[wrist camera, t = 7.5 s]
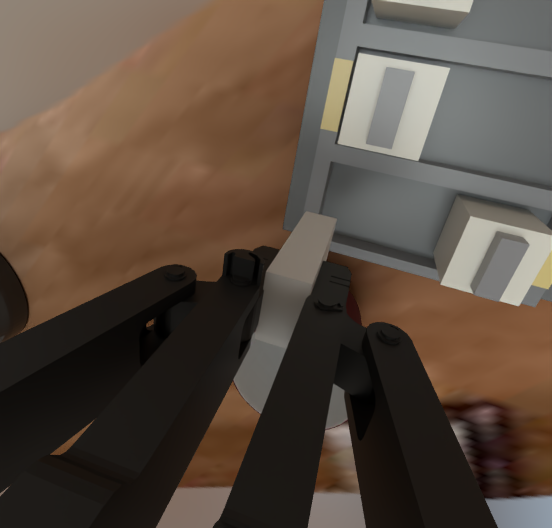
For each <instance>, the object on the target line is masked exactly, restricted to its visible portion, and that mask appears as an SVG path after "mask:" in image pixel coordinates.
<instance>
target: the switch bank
mask: <svg viewBox="0 0 552 528" xmlns="http://www.w3.org/2000/svg"><path fill="white" fill-rule="evenodd" d="M359 53H362V54H368V55H374V56H380V57H387V58H393V59H399V60H405V61H411V62H417V63H423V64H429V65H435V66H441V67H447V68H450V70H449V73H448V76H447V79H446V82H445V85H444V88H443V91H442V94H441V97H440V99H439V102H438V105H437V108H436V111H435V114H434V117H433V120H432V123H431V126H430V129H429V131H428V134H427V137H426V140H425V143H424V146H423V149H422V152H421V155H420V158H419V161H415V160H411V159H406V158H401V157H397V156H392V155H387V154H383V153H378V152H373V151H369V150H364V149H360V148H355V147H350V146H346V145H341V144H338V140H339V135H340V131H341V127H342V122H343V118H344V114H345V109H346V105H347V101H348V97H349V92H350V88H351V84H352V79H353V75H354V71H355V67H356V62H357V58H358V54H359ZM457 194H460V195H464V196H469V197H473V198H477V199H482V200H486V201H491V202H495V203H499V204H504V205H508V206H513V207H517V208H521V209H526V210H529V211H530V212H532V213H533V214H534V215H535V216H536V217H537V218H538V219H539V220H540V221H542V222H543V223H544V224H545V225H546V226H547V227H548V228H549V229H551V230H552V0H473V3H472V6H471V9H470V12H469V13H468V14H467V16H466V17H465V18H464V19H463V20H462V21H461V22H460V23H459V24H458V26H457V27H456V28H455V29H449V28H442V27H435V26H428V25H421V24H414V23H407V22H400V21H393V20H386V19H380V18H376V15H375V11H374V7H373V4H372V0H324V4H323V10H322V15H321V21H320V26H319V32H318V37H317V43H316V48H315V54H314V59H313V65H312V70H311V76H310V81H309V87H308V92H307V98H306V103H305V109H304V114H303V120H302V125H301V130H300V136H299V141H298V147H297V152H296V158H295V163H294V169H293V174H292V180H291V185H290V191H289V196H288V202H287V207H286V213H285V218H284V224H283V229H284V230H287V231H291V232H293V230H294V229H295V227H296V226H297V224H298V223H299V221H300V220H301V218H302V217H303V215H304V214H305V212H306V211H308V212H312V213H316V214H320V215H324V216H328V217H332V218H336V219H337V221H336V225H335V229H334V233H333V237H332V241H331V245H330V248H329V251H332V252H335V253H339V254H343V255H346V256H350V257H354V258H357V259H361V260H365V261H368V262H372V263H375V264H379V265H383V266H386V267H390V268H394V269H397V270H401V271H405V272H408V273H412V274H416V275H419V276H423V277H427V278H430V279H434V280H437V281H439V277H438V272H437V268H436V263H435V259H434V254H433V252H434V249H435V247H436V245H437V242H438V240H439V237H440V235H441V232H442V230H443V228H444V225H445V223H446V220H447V218H448V215H449V213H450V211H451V208H452V206H453V203H454V201H455V198H456V196H457ZM540 299H544V300H547V301H551V302H552V251H551V252H550V254H549V256H548V257H547V259H546V261H545V262H544V264H543V266H542V268H541V269H540V271H539V273H538V274H537V276H536V278H535V280H534V281H533V283H532V285H531V286H530V288H529V290H528V292H527V293H526V295H525V297H524V298H523V300H522V302H521V304H525V305H529V306H532V307H536V305H537V303H538V302H539V300H540Z"/></svg>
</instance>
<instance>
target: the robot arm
mask: <svg viewBox="0 0 552 528" xmlns="http://www.w3.org/2000/svg"><path fill="white" fill-rule="evenodd" d="M336 221H337V219H336V218H332V217H328V216H324V215H320V214H316V213H312V212H308V211H306V212H305V214H304V215H303V217H302V218H301V220H300V221H299V223H298V224H297V226H296V227H295V229H294V230H293V232H292V233H291V235H290V236H289V238H288V239H287V241H286V242H285V244H284V245H283V247H282V248H281V250H278V249H275V248H271V247H267V246H261V247H258V248H256V249H254V250H253V251H250V250H244V249H235V250H230V251H228V252H226V253H225V255H224V264H223V274H222V276H221V277H220V279H219V280H218V281H217V282H206V281H196V276H197V275H196V273H195V271H194V270H192V269H191V268H189V267H186V266H183V265H177V264H174V265H166V266H163V267H160V268H158V269H156V270H154V271H152V272H149V273H147V274H145V275H143V276H141V277H139V278H137V279H135V280H133V281H130V282H128V283H126V284H124V285H122V286H120V287H118V288H116V289H114V290H111V291H109V292H107V293H105V294H103V295H101V296H99V297H97V298H94V299H92V300H90V301H88V302H86V303H84V304H82V305H80V306H78V307H75V308H73V309H71V310H69V311H67V312H65V313H63V314H61V315H59V316H56V317H54V318H52V319H50V320H48V321H46V322H44V323H42V324H39V325H37V326H35V327H33V328H31V329H29V330H27V331H25V332H23V333H20V332H21V331H22V330H23V328H24V327H25V325H26V322H27V316H28V309H27V302H26V298H25V295H24V292H23V289H22V287H21V285H20V283H19V281H18V279H17V277H16V275H15V274H14V272H13V271H12V269H11V268H10V266H9V265H8V263H7V262H6V261H5V260H4V258H3V257H2V256H1V255H0V493H1V492H2V491H4V490H5V489H6V488H7V487H9V486H10V485H11V484H12V483H13V484H12V485H11V486H10V487H9V488H8V489H7V490H6V491H5V492H4V493H3V494H2V495H1V496H0V528H156V526H157V524H158V523H159V521H160V519H161V517H162V515H163V513H164V511H165V509H166V507H167V505H168V503H169V502H170V500H171V497H172V496H173V494H174V492H175V490H176V488H177V486H178V484H179V482H180V481H181V479H182V477H183V475H184V473H185V471H186V469H187V467H188V465H189V463H190V461H191V460H192V458H193V456H194V454H195V452H196V450H197V448H198V446H199V444H200V442H201V440H202V439H203V437H204V435H205V433H206V431H207V429H208V427H209V425H210V423H211V421H212V419H213V418H214V416H215V414H216V412H217V410H218V408H219V406H220V404H221V402H222V400H223V398H224V397H225V395H226V393H227V391H228V389H229V387H230V385H231V383H232V381H233V379H234V377H235V375H236V374H237V372H238V370H239V368H240V366H241V364H242V362H243V360H244V358H245V356H246V354H247V353H248V351H249V349H250V345H251V339H252V335H253V333H254V332H255V330H256V333H255V339H256V340H260V341H263V342H266V343H269V344H272V345H276V346H279V347H282V348H285V349H286V351H285V354H284V356H283V359H282V361H281V364H280V366H279V369H278V372H277V374H276V377H275V379H274V382H273V384H272V387H271V390H270V392H269V395H268V397H267V400H266V402H265V405H264V408H263V410H262V413H261V415H260V418H259V420H258V423H257V426H256V428H255V431H254V433H253V436H252V438H251V441H250V444H249V446H248V449H247V451H246V454H245V456H244V459H243V462H242V464H241V467H240V469H239V472H238V474H237V477H236V480H235V482H234V485H233V487H232V490H231V493H230V495H229V498H228V500H227V503H226V506H225V508H224V510H223V513H222V515H221V517H220V519H219V520H218V521H217V522H216V523H215V525H214V526H213V528H307V527H308V521H309V516H310V510H311V505H312V500H313V494H314V489H315V483H316V478H317V472H318V466H319V461H320V455H321V450H322V444H323V439H324V433H325V428H326V422H327V417H328V411H329V406H330V400H331V395H332V389H333V384H335V385H336V386H338V387H340V388H341V389H343V390H345V391H344V400H345V406H346V412H347V418H348V424H349V430H350V436H351V441H352V447H353V453H354V459H355V465H356V471H357V477H358V483H359V489H360V495H361V500H362V506H363V512H364V518H365V524H366V528H498V527H497V525H496V522H495V520H494V518H493V516H492V514H491V512H490V509H489V507H488V505H487V503H486V501H485V498H484V496H483V494H482V492H481V490H480V488H479V485H478V483H477V481H476V479H475V477H474V475H473V472H472V470H471V468H470V466H469V464H468V462H467V459H466V457H465V455H464V453H463V451H462V449H461V446H460V444H459V442H458V440H457V438H456V436H455V433H454V431H453V429H452V427H451V425H450V423H449V420H448V418H447V416H446V414H445V412H444V410H443V407H442V405H441V403H440V401H439V399H438V396H437V394H436V392H435V390H434V388H433V386H432V383H431V381H430V379H429V377H428V375H427V373H426V370H425V368H424V366H423V364H422V362H421V360H420V357H419V355H418V353H417V351H416V349H415V347H414V344H413V342H412V340H411V339H410V337H409V336H408V334H407V333H405V332H404V331H403V330H401V329H400V328H398V327H397V326H394V325H392V324H388V323H384V322H375V323H372V324H370V325H369V326H368V327H367V328H365V327H363V326H361V325H360V324H358V323H356V322H355V321H354V320H352V319H351V318H350V317H349V315H348V314H347V312H346V311H347V310H346V302H347V297H348V291H349V286H350V280H351V275H352V274H351V272H350V271H349V269H348V267H345V266H342V265H338V264H334V263H330V262H327V261H326V260H327V256H328V252H329V248H330V245H331V241H332V237H333V233H334V229H335V225H336ZM152 319H154V324H152V325H151V326H149V327H146V324H147V323H148V322H149V321H150V320H152ZM18 333H20V334H18ZM17 334H18V335H17ZM15 335H16V336H15ZM13 336H14V337H13ZM93 420H94V421H93ZM92 421H93V423H92V424H91V425H90V426H89V427H88V428H87V429H86V431H85V432H84V433H83V434H82V435H81V436H80V437H79V438H78V440H77V441H76V442H75V443H74V444H73V445H72V446H71V447H70V448H69V449H68V450H67V451H66V452H65V453H63V454H61V455H50V454H51V453H52V452H54V451H55V450H56V449H57V448H59V447H60V446H61V445H63V444H64V443H65V442H66V441H68V440H69V439H70V438H72V437H73V436H74V435H75V434H77V433H78V432H79V431H80V430H82V429H83V428H84V427H86V426H87V425H88V424H89V423H91V422H92Z"/></svg>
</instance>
